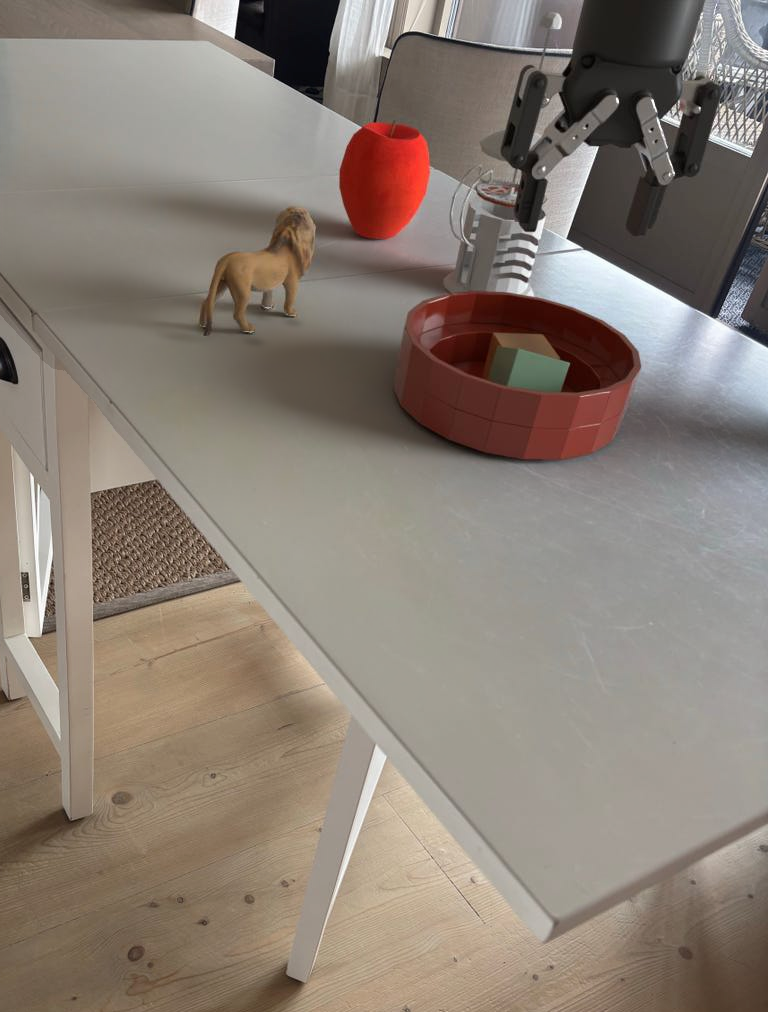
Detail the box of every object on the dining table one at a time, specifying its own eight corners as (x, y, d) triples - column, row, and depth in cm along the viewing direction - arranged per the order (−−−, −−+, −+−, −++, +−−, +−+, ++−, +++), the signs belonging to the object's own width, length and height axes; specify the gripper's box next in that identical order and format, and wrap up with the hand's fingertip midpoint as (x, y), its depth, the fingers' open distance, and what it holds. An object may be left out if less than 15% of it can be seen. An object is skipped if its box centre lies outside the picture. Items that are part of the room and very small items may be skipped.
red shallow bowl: (572, 357, 92) (591, 295, 88) (652, 467, 78) (679, 399, 74) (374, 350, 89) (385, 286, 85) (421, 463, 75) (436, 392, 71)
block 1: (529, 382, 86) (542, 334, 83) (545, 407, 83) (560, 358, 80) (480, 381, 85) (492, 332, 82) (495, 406, 82) (508, 356, 79)
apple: (364, 257, 106) (382, 136, 98) (314, 226, 112) (327, 109, 104) (434, 247, 111) (457, 130, 103) (383, 217, 117) (400, 104, 109)
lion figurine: (277, 289, 97) (285, 195, 91) (321, 306, 95) (332, 211, 89) (182, 333, 88) (185, 231, 82) (229, 352, 86) (235, 250, 80)
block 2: (547, 359, 80) (570, 362, 75) (529, 413, 81) (551, 420, 77) (497, 345, 79) (517, 348, 74) (480, 400, 80) (499, 406, 76)
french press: (554, 300, 102) (632, 23, 85) (468, 315, 97) (533, 24, 80) (494, 265, 108) (556, 0, 91) (410, 278, 103) (460, 0, 86)
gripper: (564, -26, 58) (503, 246, 69) (782, -10, 60) (690, 253, 71) (527, -46, 64) (476, 210, 75) (728, -30, 66) (650, 217, 77)
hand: (581, 230), depth 73 cm, fingers open, 8 cm apart
